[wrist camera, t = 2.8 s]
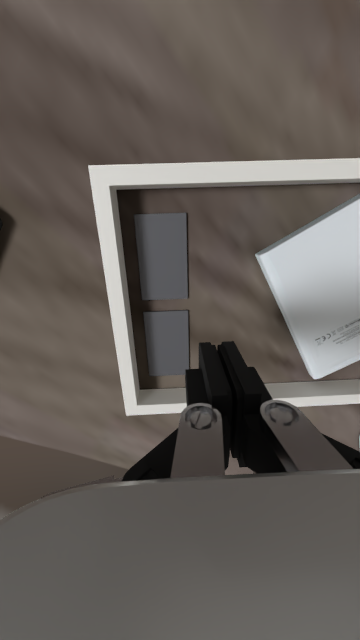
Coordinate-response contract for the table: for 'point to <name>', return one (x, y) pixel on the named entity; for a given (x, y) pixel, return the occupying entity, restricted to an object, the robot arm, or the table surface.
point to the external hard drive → (320, 287)
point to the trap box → (171, 270)
